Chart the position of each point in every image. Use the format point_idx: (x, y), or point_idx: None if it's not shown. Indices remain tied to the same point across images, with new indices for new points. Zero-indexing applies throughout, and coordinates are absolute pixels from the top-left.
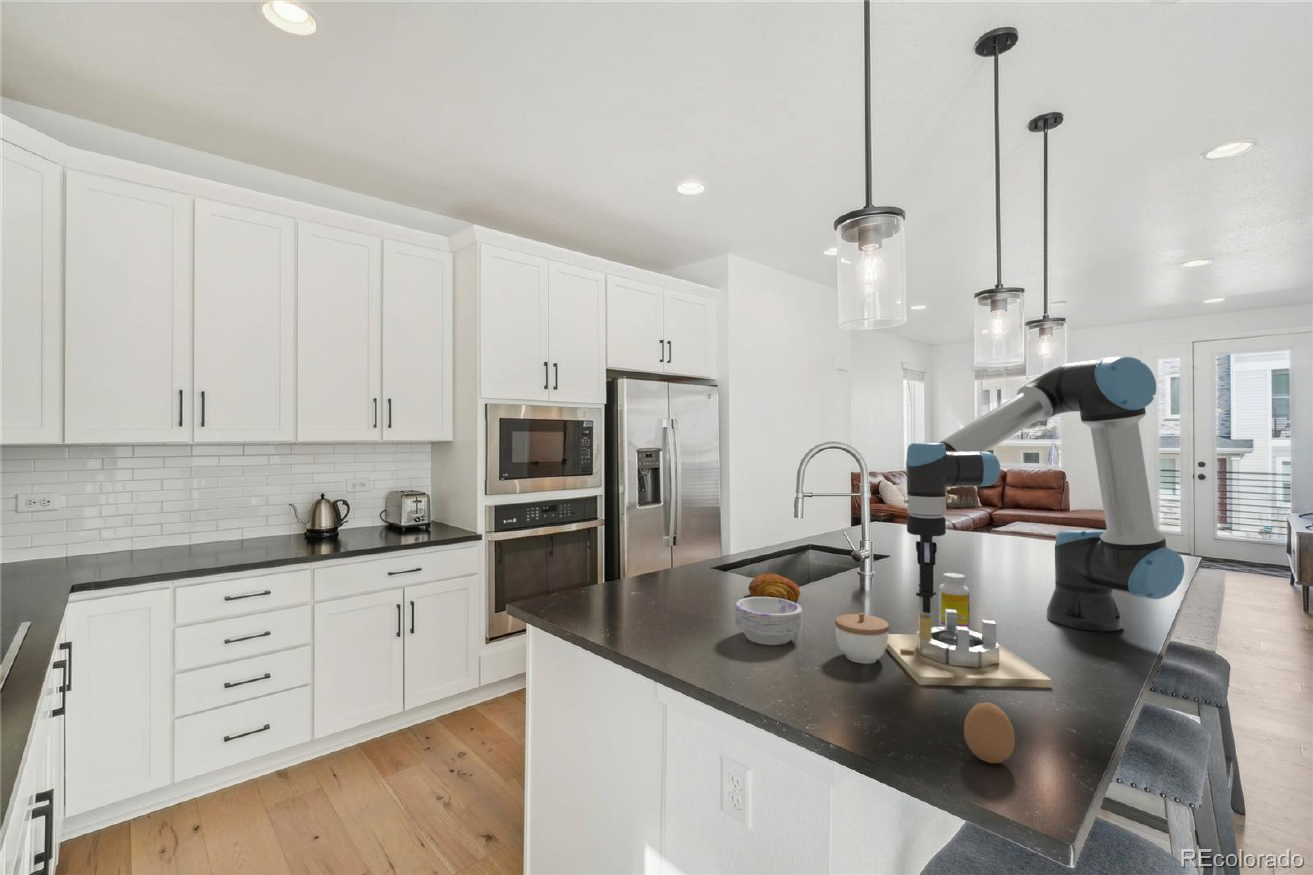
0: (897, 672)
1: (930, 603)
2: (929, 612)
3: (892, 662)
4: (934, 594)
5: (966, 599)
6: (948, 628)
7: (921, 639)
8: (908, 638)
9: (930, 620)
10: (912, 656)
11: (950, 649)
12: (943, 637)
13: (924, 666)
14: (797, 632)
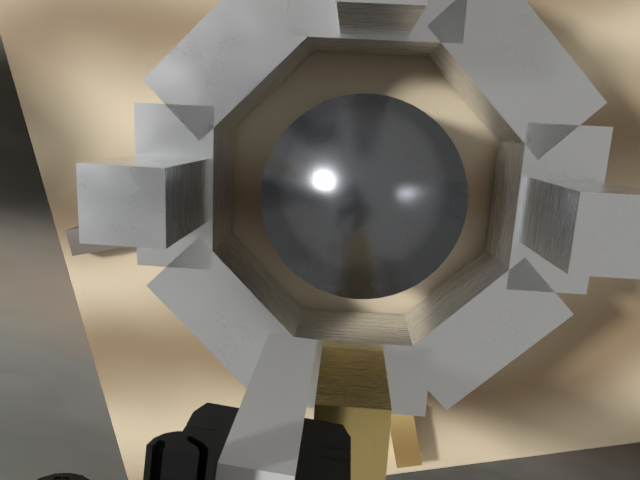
0: (554, 473)
1: (298, 458)
2: (343, 432)
3: (434, 472)
4: (207, 455)
5: None
6: (205, 215)
7: (424, 408)
8: (166, 381)
9: (391, 408)
10: (442, 412)
11: (586, 286)
12: (383, 282)
13: (573, 384)
14: None
